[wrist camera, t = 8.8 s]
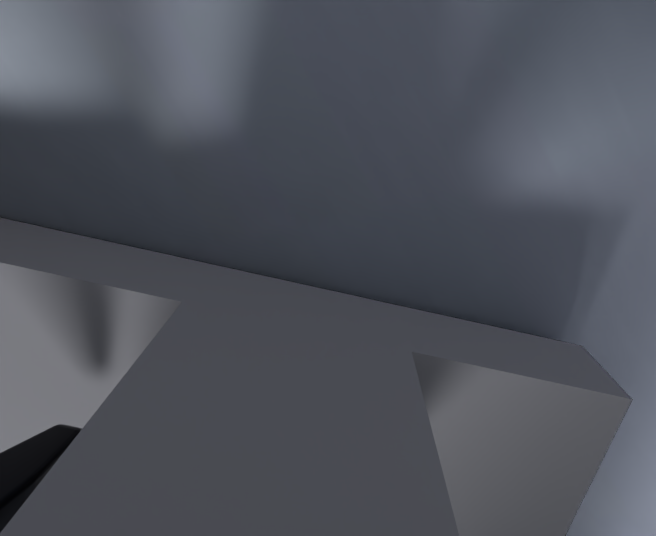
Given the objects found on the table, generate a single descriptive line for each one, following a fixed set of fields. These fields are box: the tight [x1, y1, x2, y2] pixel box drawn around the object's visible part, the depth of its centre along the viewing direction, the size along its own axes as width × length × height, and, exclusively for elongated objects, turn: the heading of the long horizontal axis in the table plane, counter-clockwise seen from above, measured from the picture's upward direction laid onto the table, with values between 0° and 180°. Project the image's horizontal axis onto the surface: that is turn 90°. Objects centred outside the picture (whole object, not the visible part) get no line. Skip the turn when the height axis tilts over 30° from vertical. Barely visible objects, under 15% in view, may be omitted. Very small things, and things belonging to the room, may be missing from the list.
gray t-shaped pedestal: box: [0, 218, 633, 536], centre depth 8 cm, size 16×5×7 cm, turn 77°
